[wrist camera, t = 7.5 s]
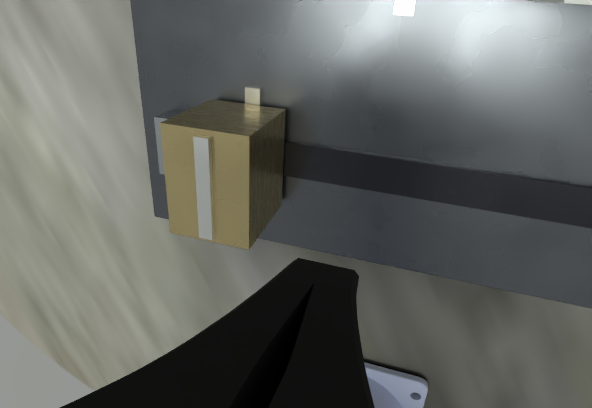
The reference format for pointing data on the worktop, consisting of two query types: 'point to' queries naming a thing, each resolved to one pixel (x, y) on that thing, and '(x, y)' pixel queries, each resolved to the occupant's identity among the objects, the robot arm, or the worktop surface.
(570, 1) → the block
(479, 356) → the worktop surface
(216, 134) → the tan striped block
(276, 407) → the robot arm
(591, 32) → the mixer panel
